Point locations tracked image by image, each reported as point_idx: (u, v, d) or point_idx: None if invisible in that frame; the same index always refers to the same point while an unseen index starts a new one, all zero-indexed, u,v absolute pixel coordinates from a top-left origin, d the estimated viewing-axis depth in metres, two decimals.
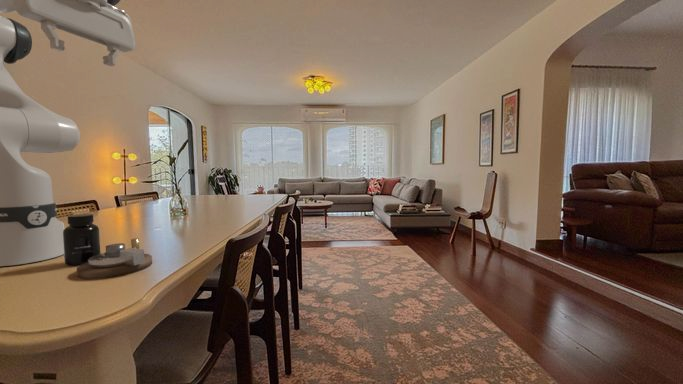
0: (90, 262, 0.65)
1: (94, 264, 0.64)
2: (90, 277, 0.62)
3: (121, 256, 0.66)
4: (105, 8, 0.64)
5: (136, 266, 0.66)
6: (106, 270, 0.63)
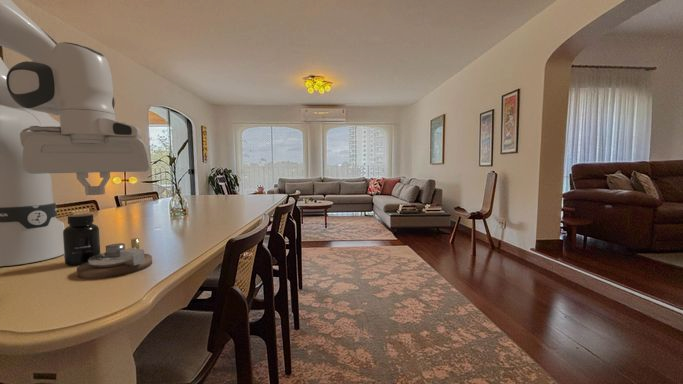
0: (90, 262, 0.65)
1: (94, 264, 0.64)
2: (90, 277, 0.62)
3: (121, 256, 0.66)
4: None
5: (136, 266, 0.66)
6: (106, 270, 0.63)
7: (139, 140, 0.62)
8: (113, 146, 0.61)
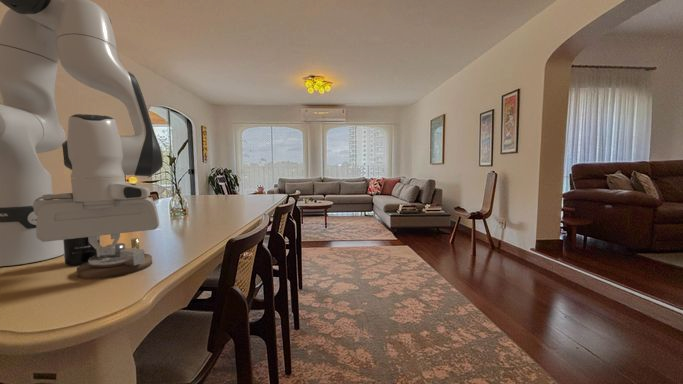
0: (90, 262, 0.65)
1: (94, 264, 0.64)
2: (90, 277, 0.62)
3: (121, 256, 0.66)
4: None
5: (136, 266, 0.66)
6: (106, 270, 0.63)
7: (149, 200, 0.64)
8: (124, 208, 0.63)
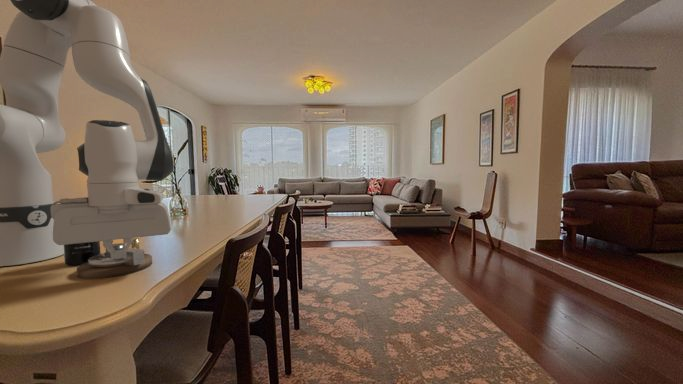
0: (90, 262, 0.65)
1: (94, 264, 0.64)
2: (90, 277, 0.62)
3: None
4: None
5: (136, 266, 0.66)
6: (106, 270, 0.63)
7: (161, 206, 0.65)
8: (137, 213, 0.64)
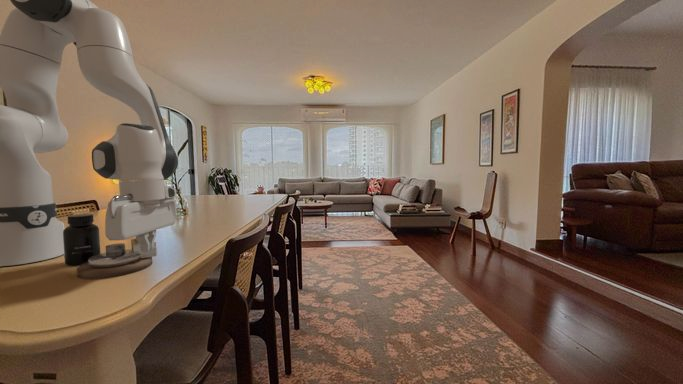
0: (110, 262, 0.64)
1: (117, 262, 0.65)
2: (90, 277, 0.62)
3: (136, 252, 0.70)
4: None
5: (136, 266, 0.66)
6: (106, 270, 0.63)
7: (174, 199, 0.78)
8: (161, 207, 0.73)
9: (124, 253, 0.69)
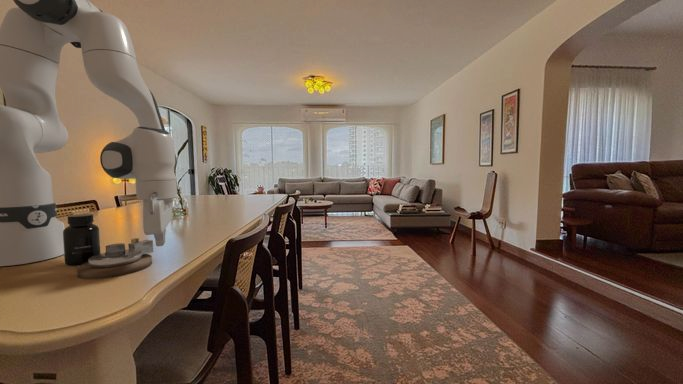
0: (126, 259, 0.66)
1: (132, 259, 0.68)
2: (90, 277, 0.62)
3: (136, 249, 0.72)
4: None
5: (136, 266, 0.66)
6: (106, 270, 0.63)
7: None
8: (167, 204, 0.79)
9: None
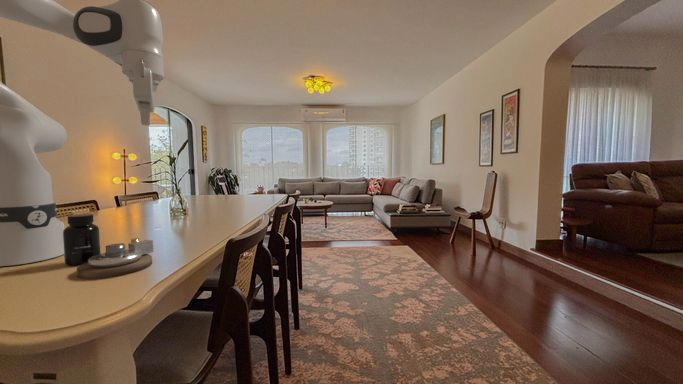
0: (126, 259, 0.66)
1: (132, 259, 0.68)
2: (90, 277, 0.62)
3: (136, 249, 0.72)
4: None
5: (136, 266, 0.66)
6: (106, 270, 0.63)
7: None
8: None
9: None
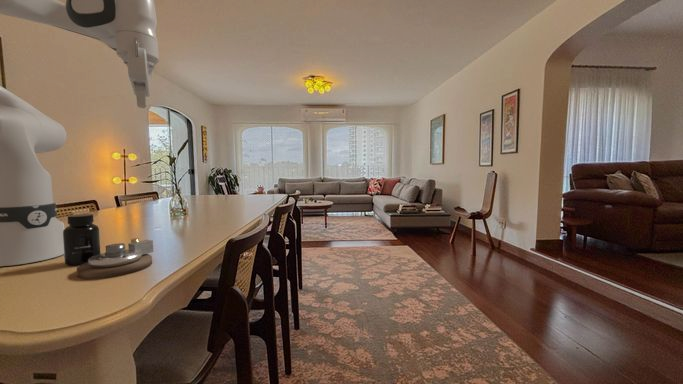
0: (126, 259, 0.66)
1: (132, 259, 0.68)
2: (90, 277, 0.62)
3: (136, 249, 0.72)
4: None
5: (136, 266, 0.66)
6: (106, 270, 0.63)
7: None
8: None
9: None
